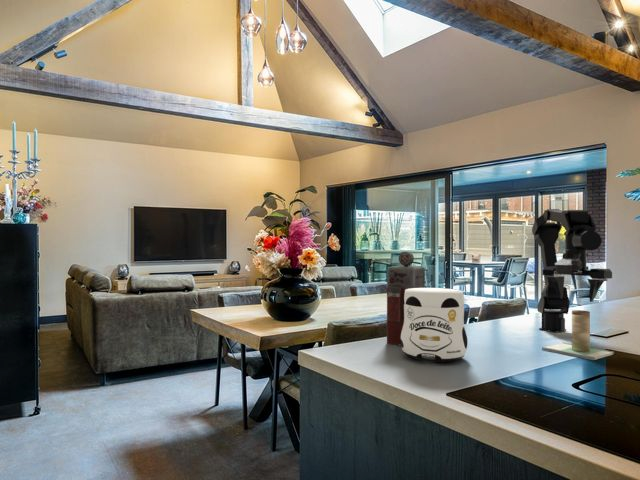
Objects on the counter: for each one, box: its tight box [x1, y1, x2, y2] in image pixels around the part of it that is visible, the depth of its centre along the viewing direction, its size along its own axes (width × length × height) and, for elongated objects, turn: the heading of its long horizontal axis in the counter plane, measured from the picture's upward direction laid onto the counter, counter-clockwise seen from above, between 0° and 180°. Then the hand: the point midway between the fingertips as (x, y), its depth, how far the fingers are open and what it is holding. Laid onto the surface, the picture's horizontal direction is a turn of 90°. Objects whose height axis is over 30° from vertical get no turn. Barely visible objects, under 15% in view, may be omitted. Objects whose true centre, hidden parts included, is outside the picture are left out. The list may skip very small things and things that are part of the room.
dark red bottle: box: [386, 251, 426, 346], centre depth 140 cm, size 9×11×28 cm
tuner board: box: [541, 341, 615, 361], centre depth 129 cm, size 14×12×1 cm
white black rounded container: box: [400, 287, 468, 363], centre depth 122 cm, size 17×17×18 cm
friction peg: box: [571, 309, 591, 352], centre depth 128 cm, size 4×4×11 cm
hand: (575, 300), depth 142 cm, fingers open, 9 cm apart
